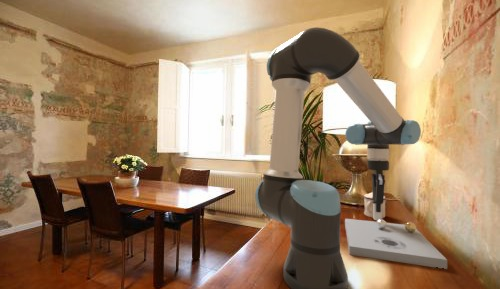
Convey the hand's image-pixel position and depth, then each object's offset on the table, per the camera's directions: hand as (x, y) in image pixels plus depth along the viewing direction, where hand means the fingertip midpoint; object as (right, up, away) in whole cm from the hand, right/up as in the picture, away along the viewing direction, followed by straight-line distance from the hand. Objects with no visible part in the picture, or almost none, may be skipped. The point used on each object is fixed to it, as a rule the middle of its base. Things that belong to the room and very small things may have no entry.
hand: (377, 219), depth 91 cm
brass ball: (+6, 0, -9) cm, 11 cm away
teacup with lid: (+7, -4, +17) cm, 19 cm away
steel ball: (-2, 0, -6) cm, 7 cm away
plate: (-4, -4, -12) cm, 13 cm away
